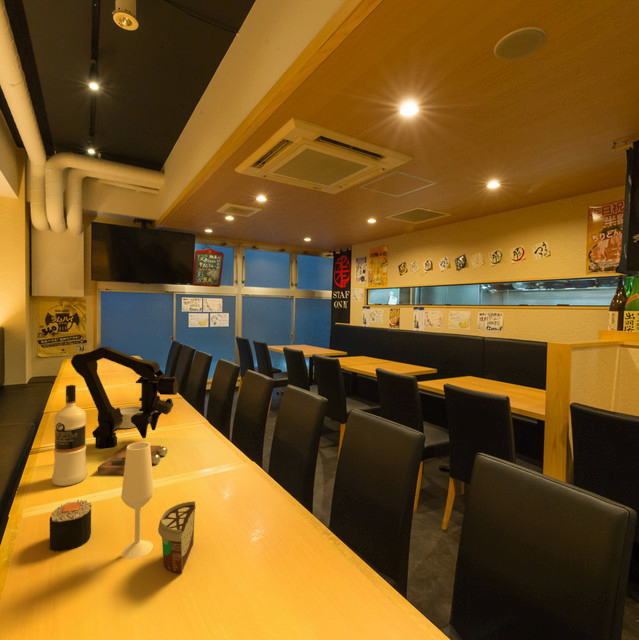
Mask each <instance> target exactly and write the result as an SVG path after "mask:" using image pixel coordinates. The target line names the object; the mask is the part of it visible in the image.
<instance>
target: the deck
mask: <svg viewBox="0 0 639 640" xmlns="http://www.w3.org/2000/svg"><path fill="white" fill-rule="evenodd" d="M128 445H129V444H128ZM128 445H127V444H125V445H124V446H123V447H122V448H119V450H117V451H116V452H114V454H113V455H111V456H109V458H107V459H106V460H105V461H104V462H102V463H101V464H99V466H97V475H98V476H124V468H125V459H126V450H127V446H128ZM160 447H162V446H161V445H151V444H150V450H151V456H152V455H154V454H158V449H159V448H160Z"/></svg>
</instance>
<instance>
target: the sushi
mask: <svg viewBox="0 0 639 640" xmlns="http://www.w3.org/2000/svg"><path fill="white" fill-rule="evenodd" d="M92 506H93V504H92V502H91V501H89V502H88V500H79V499H76V501H75V500H74V501H69V502H66V503H64V504H61V505H60V506H57V508H55V510H53V511H52V512H51V514H50V517H49V550H50V551H52V552H64V551H68V550H69V551H70V550H73V549H77V548H79V547H81V546H83V545H86V543H88V542H89V540H90V538H91V535H92Z"/></svg>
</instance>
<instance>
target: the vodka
mask: <svg viewBox="0 0 639 640" xmlns="http://www.w3.org/2000/svg"><path fill="white" fill-rule="evenodd" d="M76 389H77V387H76V385H75V384H69V385H66V386H65V406H64V407H63V408H61V409H60V410H59V411H57V412H56V413H55V415H54V418H53V422H54V423H53V424H54V425H53V428H54V451H53V454H54V455H53V456H54V463H53V464H54V465H53V473H52V476H51V482H52V483H53V485H56V486H58V487H68V486H74V485H77V484H78V483H81V482H83V481H84V480H86V478H87V477H88V475H89V470H88V467H87V460H86V459H87V457H86V453H87V452H86V451H87V445H86V424H87V413H86V411H85V409H83V408H81V407H79V406H77V405H76V399H77V398H76V395H77V393H76V391H77V390H76Z"/></svg>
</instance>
